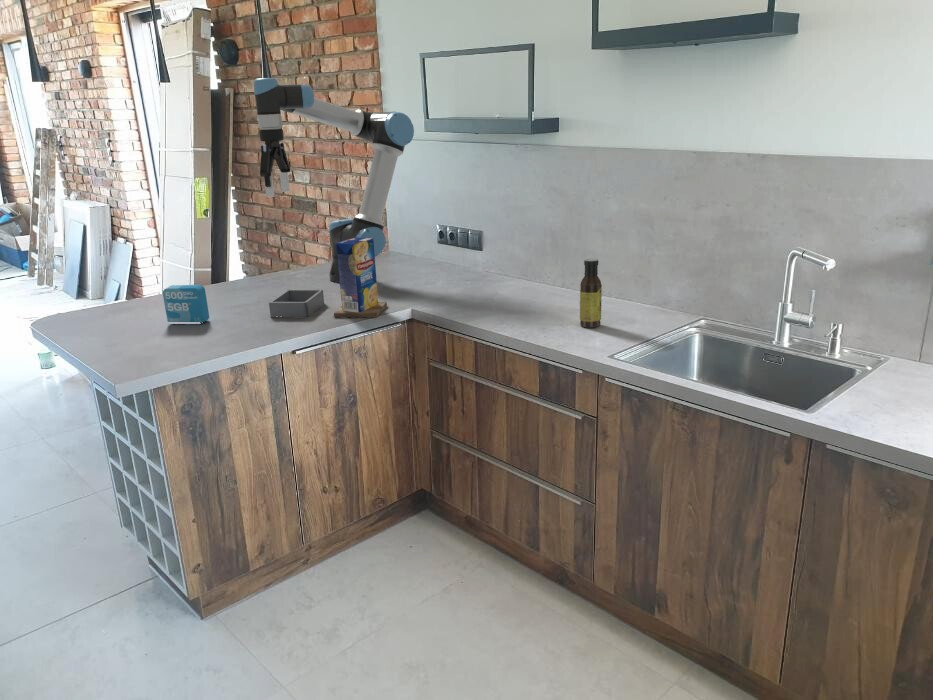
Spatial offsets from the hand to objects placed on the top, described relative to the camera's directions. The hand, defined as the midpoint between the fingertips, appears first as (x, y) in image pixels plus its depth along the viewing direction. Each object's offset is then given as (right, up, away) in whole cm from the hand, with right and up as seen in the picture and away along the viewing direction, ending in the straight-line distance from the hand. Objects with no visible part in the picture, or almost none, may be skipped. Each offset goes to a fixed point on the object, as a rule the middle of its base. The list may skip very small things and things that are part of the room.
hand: (278, 194), depth 240 cm
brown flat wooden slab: (+29, -40, -6) cm, 50 cm away
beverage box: (+29, -39, -6) cm, 49 cm away
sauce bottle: (+100, -45, -28) cm, 114 cm away
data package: (-25, -44, -12) cm, 52 cm away
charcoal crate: (+7, -39, -2) cm, 40 cm away
